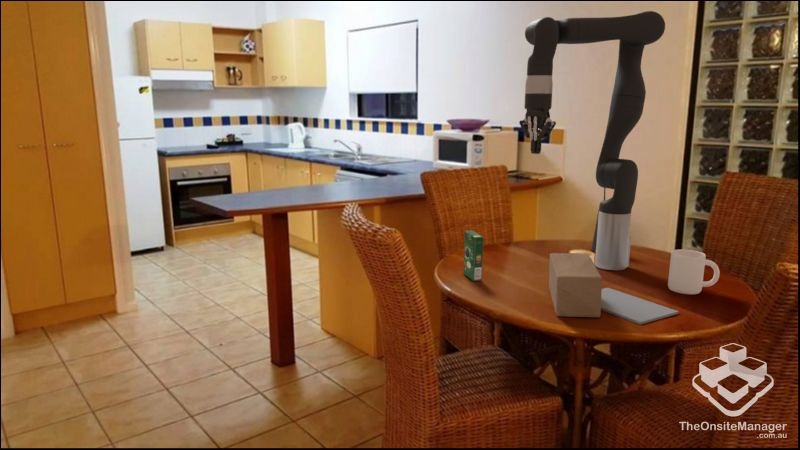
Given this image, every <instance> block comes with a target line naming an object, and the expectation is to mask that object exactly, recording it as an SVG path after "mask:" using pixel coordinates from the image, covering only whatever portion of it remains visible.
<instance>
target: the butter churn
mask: <svg viewBox="0 0 800 450" xmlns="http://www.w3.org/2000/svg"><path fill="white" fill-rule="evenodd" d="M606 189H607V188H603V201H604V200H606ZM596 216H597V217H596V222H595V227H594V233H593V238H592V243H591V248H590V251H591V250H592V252H593V251H594V253H596V243H597V230H598V217H599V210H597V215H596Z"/></svg>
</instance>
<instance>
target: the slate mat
mask: <svg viewBox="0 0 800 450" xmlns="http://www.w3.org/2000/svg"><path fill="white" fill-rule="evenodd" d="M601 311H603V312H606V313H609V314H612V315H614V316H617V317H618V318H621V319H624V320H627V321H629V322H632V323H634V324H637V325H643V324H647V323H651V322H654V321H657V320H662V319H665V318H668V317H671V316H676V315H678V314H679V313H680V312H679V310H676V309H673V308H671V307H667V306H664V305H661V304H659V303H655V302H652V301H649V300H646V299H643V298H640V297H638V296H634V295H632V294H628V293H625V292H622V291H618V290H617V289H613V288H611V287H604V288H602V291H601Z"/></svg>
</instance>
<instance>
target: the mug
mask: <svg viewBox="0 0 800 450" xmlns="http://www.w3.org/2000/svg"><path fill="white" fill-rule="evenodd" d="M706 257H707V255H706V253H704V252H701V251H698V250H693V249H673V250H671V253H670V261H669V270H668V271H669V272H668V279H667V280H668V281H667V287H668V289H669V290H670V291H672V292H674V293H677V294H682V295H698V294H700V293H701V292H702V291H703V288H705V287H706V288H708V287H711V286H713V285H715V284H716V283H717V282H718V281H719V278H720V274H721V273H720V268H719V266H718V264H717V263H715V262H714V261H712V260H710V259H707V258H706ZM705 266H708V267H711V268H712V270H713V277H712V279H710V280H708V281H706V280H704V275H705V274H704V273H705Z"/></svg>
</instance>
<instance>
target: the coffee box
mask: <svg viewBox="0 0 800 450" xmlns="http://www.w3.org/2000/svg"><path fill="white" fill-rule="evenodd" d="M484 238H485V237H484V236H482V235H481V234H479V233H477V232H476V231H474V230H465V231H464V241H463V242H464V244H463V245H464V246H463V270H462V271H463V273H462V274H463V275H464V276H466V277H467V278H469V279H470V280H471V281H472V282H481V281H482V278H483V277H482V276H483V275H482V274H483V259H484V258H483V257H484V241H485V239H484Z"/></svg>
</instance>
